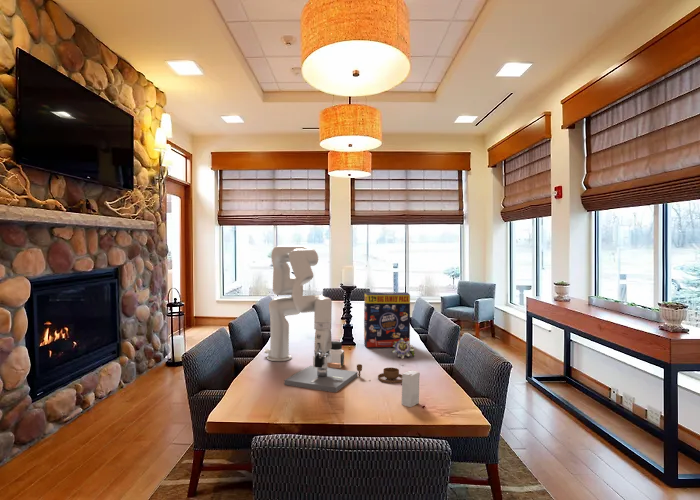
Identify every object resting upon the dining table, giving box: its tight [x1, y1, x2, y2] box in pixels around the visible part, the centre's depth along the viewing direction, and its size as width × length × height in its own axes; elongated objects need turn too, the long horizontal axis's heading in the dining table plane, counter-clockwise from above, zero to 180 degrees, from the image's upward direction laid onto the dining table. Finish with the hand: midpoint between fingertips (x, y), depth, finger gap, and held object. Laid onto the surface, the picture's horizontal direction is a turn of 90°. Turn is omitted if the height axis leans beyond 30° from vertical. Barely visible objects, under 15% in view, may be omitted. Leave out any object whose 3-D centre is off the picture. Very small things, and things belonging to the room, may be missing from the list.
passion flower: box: [391, 338, 415, 360], centre depth 236 cm, size 11×11×12 cm
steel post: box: [317, 368, 327, 377], centre depth 194 cm, size 4×4×4 cm
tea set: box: [356, 363, 402, 384], centre depth 199 cm, size 18×20×6 cm
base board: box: [283, 365, 359, 393], centre depth 194 cm, size 24×24×2 cm
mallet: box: [312, 353, 342, 369], centre depth 193 cm, size 6×11×5 cm, turn 76°
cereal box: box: [363, 291, 411, 349], centre depth 260 cm, size 27×11×32 cm, turn 97°
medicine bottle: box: [329, 340, 345, 369], centre depth 217 cm, size 7×7×12 cm
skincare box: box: [401, 370, 421, 408], centre depth 166 cm, size 6×4×12 cm
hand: (322, 364), depth 194 cm, fingers open, 9 cm apart
